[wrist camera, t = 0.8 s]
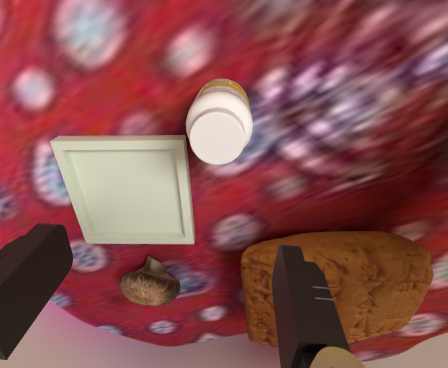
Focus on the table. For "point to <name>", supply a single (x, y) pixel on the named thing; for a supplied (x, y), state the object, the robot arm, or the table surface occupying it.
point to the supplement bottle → (219, 122)
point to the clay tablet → (344, 280)
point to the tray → (128, 187)
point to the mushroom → (150, 284)
